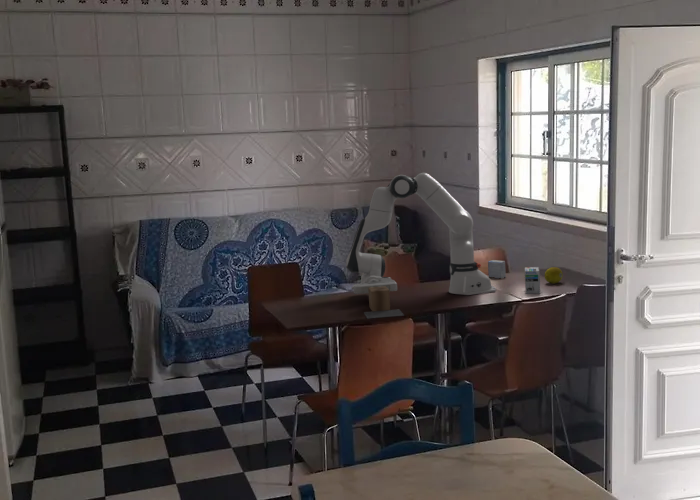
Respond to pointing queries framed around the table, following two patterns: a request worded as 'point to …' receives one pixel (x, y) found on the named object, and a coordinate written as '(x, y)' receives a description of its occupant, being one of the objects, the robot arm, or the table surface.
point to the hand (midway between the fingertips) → (377, 290)
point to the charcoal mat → (383, 313)
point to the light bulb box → (532, 280)
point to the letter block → (379, 298)
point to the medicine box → (496, 269)
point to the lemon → (553, 275)
